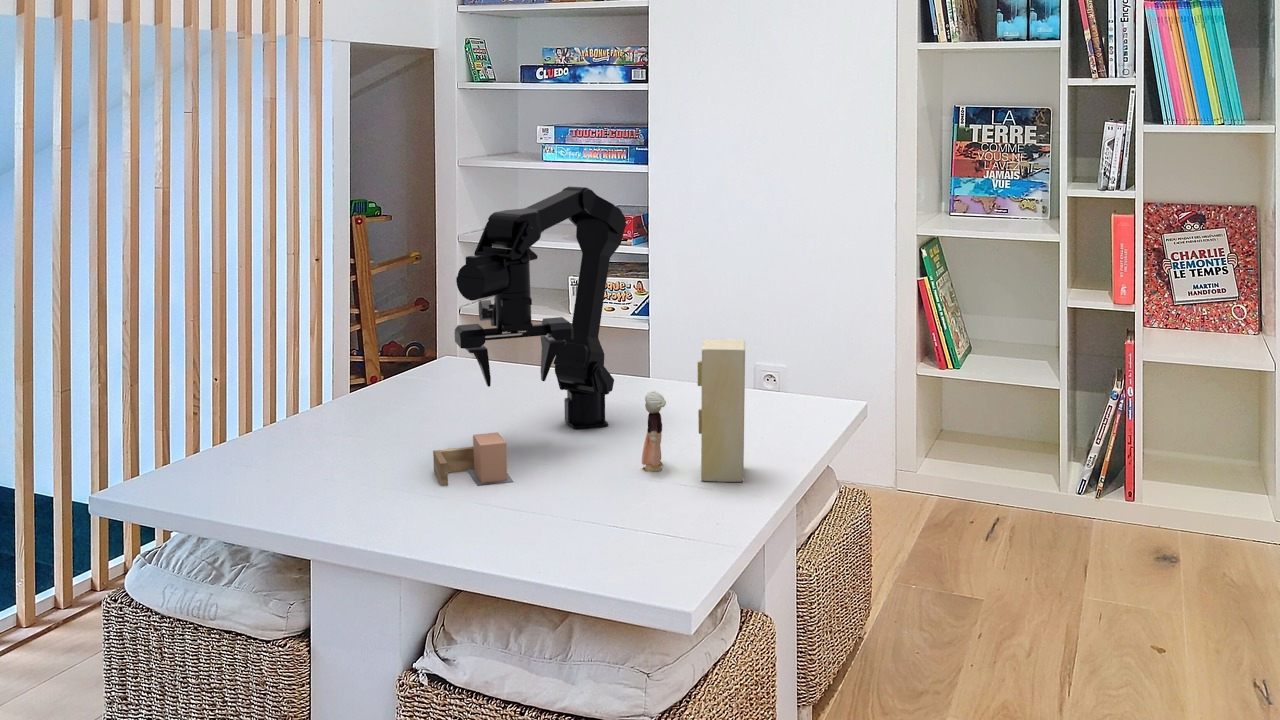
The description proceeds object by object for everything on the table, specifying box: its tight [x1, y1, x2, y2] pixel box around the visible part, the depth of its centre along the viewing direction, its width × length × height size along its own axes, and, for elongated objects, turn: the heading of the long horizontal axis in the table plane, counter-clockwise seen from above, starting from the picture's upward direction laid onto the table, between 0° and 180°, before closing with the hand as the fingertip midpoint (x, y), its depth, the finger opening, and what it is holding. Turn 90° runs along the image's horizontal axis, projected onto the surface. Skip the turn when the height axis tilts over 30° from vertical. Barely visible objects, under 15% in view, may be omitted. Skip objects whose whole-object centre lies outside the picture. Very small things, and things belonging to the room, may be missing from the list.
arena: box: [432, 446, 514, 487], centre depth 184 cm, size 12×9×4 cm
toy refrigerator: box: [697, 338, 746, 483], centre depth 183 cm, size 8×7×21 cm
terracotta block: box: [472, 431, 508, 483], centre depth 183 cm, size 6×4×6 cm, turn 19°
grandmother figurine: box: [641, 390, 667, 473], centre depth 187 cm, size 8×4×13 cm, turn 5°
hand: (516, 383), depth 194 cm, fingers open, 9 cm apart
